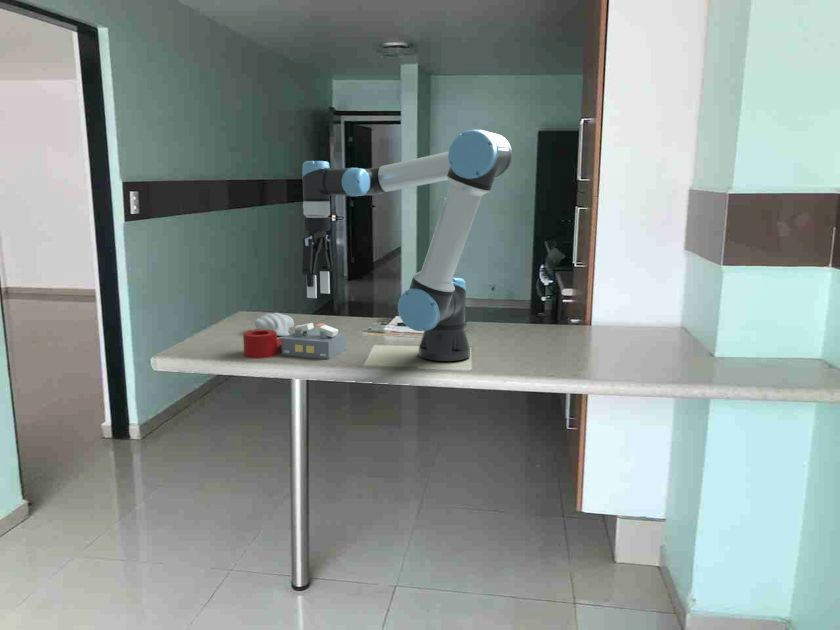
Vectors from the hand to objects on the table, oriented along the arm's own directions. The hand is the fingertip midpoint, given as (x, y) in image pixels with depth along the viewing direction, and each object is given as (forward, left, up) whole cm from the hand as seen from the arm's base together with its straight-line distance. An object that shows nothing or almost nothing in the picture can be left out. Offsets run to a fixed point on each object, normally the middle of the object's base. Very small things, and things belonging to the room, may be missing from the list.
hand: (318, 295), depth 196 cm
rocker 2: (-2, 0, -10) cm, 10 cm away
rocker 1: (+6, 0, -10) cm, 12 cm away
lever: (+15, +3, -18) cm, 23 cm away
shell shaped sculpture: (+26, -18, -18) cm, 36 cm away
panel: (+2, 0, -17) cm, 17 cm away
